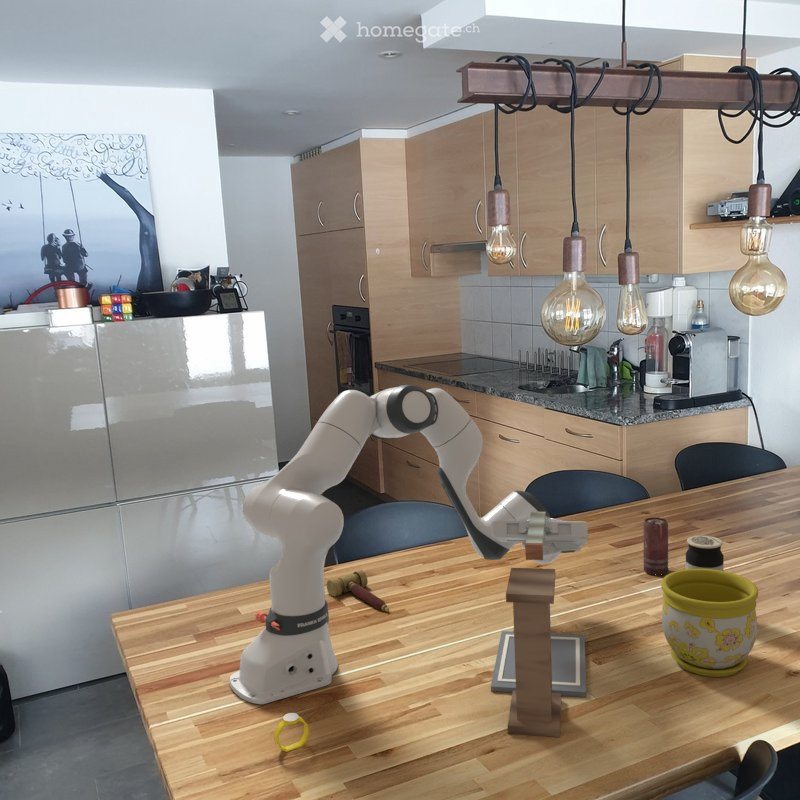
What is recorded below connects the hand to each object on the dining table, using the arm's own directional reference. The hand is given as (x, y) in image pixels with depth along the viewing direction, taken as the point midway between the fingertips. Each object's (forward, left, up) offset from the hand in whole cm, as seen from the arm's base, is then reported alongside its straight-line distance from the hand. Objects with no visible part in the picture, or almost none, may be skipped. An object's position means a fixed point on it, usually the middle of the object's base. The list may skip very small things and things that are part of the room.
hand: (537, 524), depth 164 cm
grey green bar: (-4, -3, -2) cm, 5 cm away
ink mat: (-4, -3, -28) cm, 29 cm away
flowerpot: (+21, -26, -29) cm, 44 cm away
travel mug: (+39, -14, -29) cm, 50 cm away
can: (+54, +9, -29) cm, 62 cm away
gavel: (-11, +50, -29) cm, 58 cm away
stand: (-19, -16, -28) cm, 37 cm away
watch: (-57, +6, -29) cm, 64 cm away
